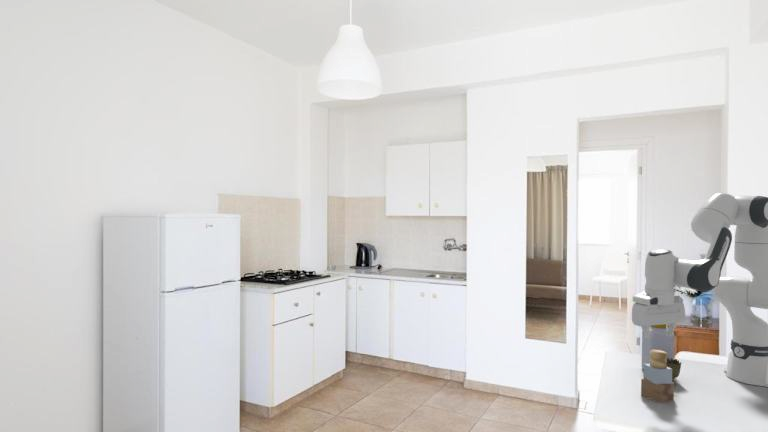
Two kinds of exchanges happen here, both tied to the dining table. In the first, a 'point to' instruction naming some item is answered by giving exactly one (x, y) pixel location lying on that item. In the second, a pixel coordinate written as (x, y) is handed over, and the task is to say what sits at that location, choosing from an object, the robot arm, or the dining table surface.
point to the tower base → (657, 391)
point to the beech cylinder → (658, 359)
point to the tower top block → (657, 375)
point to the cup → (674, 367)
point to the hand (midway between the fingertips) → (658, 337)
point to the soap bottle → (657, 343)
